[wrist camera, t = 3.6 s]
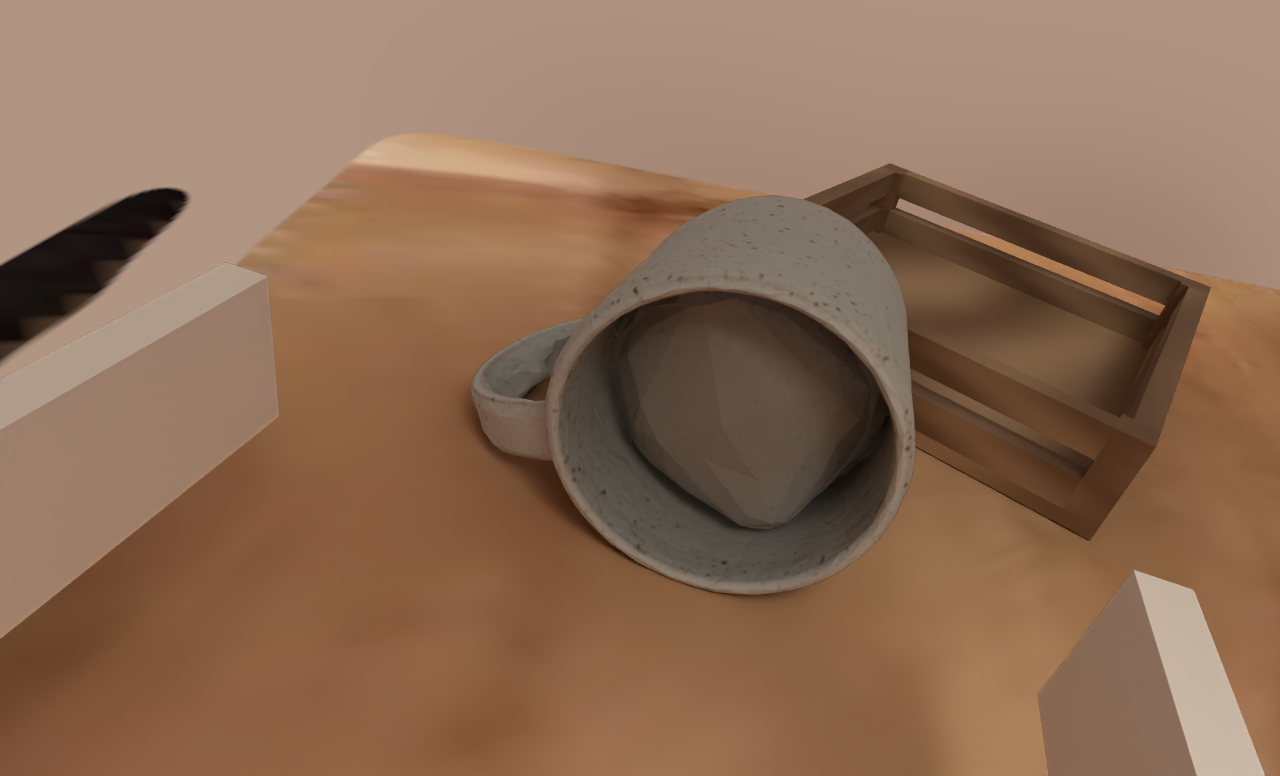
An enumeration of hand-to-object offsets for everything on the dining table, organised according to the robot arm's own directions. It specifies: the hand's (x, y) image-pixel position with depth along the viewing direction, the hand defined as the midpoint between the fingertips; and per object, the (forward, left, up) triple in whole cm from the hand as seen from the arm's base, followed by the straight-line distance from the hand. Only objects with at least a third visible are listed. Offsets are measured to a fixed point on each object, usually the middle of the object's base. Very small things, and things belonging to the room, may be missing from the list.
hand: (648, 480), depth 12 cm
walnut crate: (0, -22, -6) cm, 22 cm away
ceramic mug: (+3, -7, -6) cm, 10 cm away
